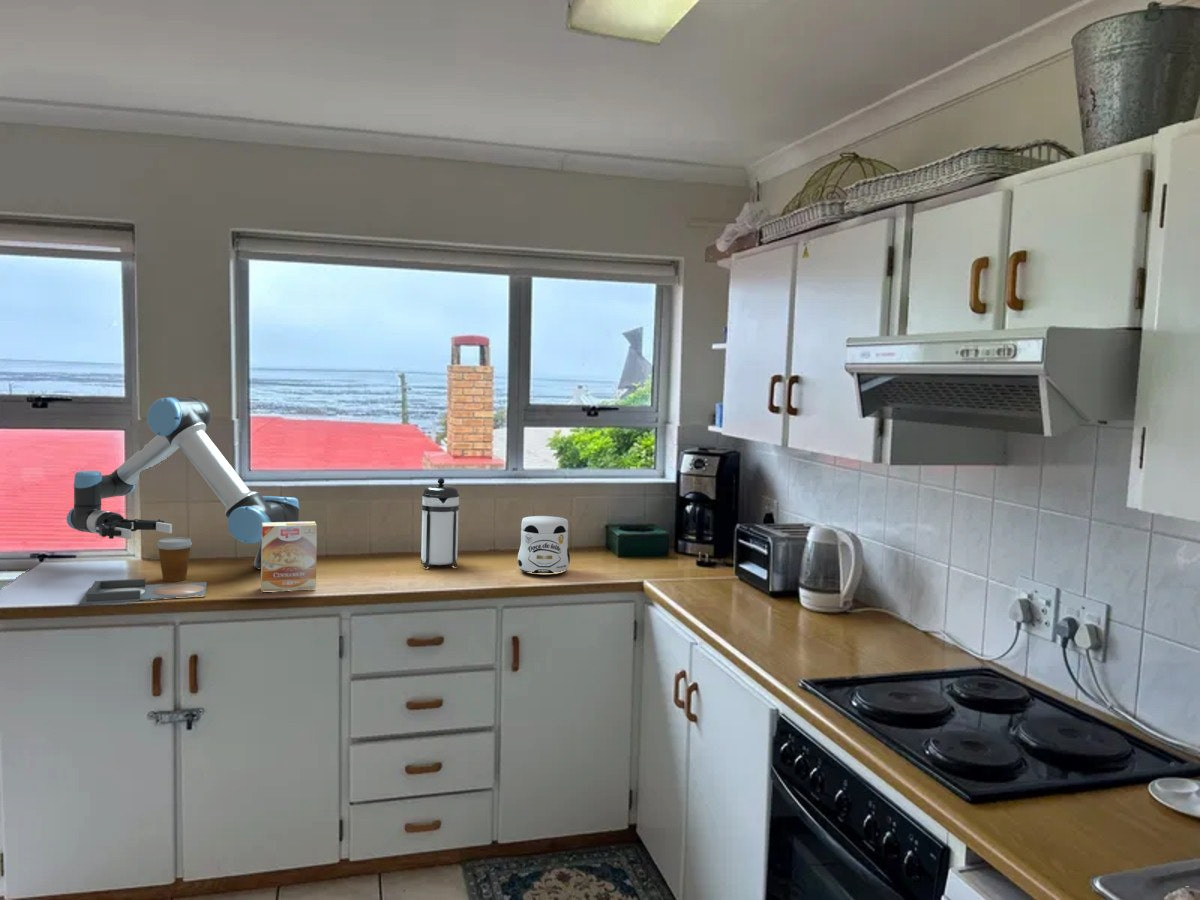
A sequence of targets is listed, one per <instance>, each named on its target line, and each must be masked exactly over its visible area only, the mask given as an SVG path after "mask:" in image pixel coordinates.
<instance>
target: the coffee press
mask: <svg viewBox="0 0 1200 900" xmlns="http://www.w3.org/2000/svg"><path fill="white" fill-rule="evenodd" d="M437 483H438V484H433V485H428V486H425V488H424V489H423V490H422V492H421V497H422V501H421V502H422V503H421V548H420V549H421V553H420V556H421V557H420V558H421V560H420V562H421V561H423V562H424V564H423V567H425V568H427V567H430V568H431V567H432V566H433V565H437V566H442V565H448V566H450V567H451V566H455V567H457V566H458V567H459V565H458V562H457V560H458V547H459V545H458V544H459V543H458V541H459V540H458V539H459V511H460V502H459V501H460V496H461V493H460V492H459V489H458V488H457V487H456V486H453V485H449V484H447V485H446V484H445V479H444V478H443V477H439V478H438V479H437Z"/></svg>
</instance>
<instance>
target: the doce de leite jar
mask: <svg viewBox="0 0 1200 900" xmlns="http://www.w3.org/2000/svg"><path fill="white" fill-rule="evenodd" d="M520 526H521V529H520V547H519V551H518V552H517V565H518V568H519V570H520V571H521V572H523V571H525V572H524V573H526V572H532V573H554V572H561V571H564V570H568V569H569V567H570V561H571V560H570V559H571V557H570V550H569V547H568V546H569V545H568V539H569V521H568V519H567V518H564V517H561V516H560V517H559V516H549V515H534V516H533V515H532V516H526V517H522V520H521V524H520Z"/></svg>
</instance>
